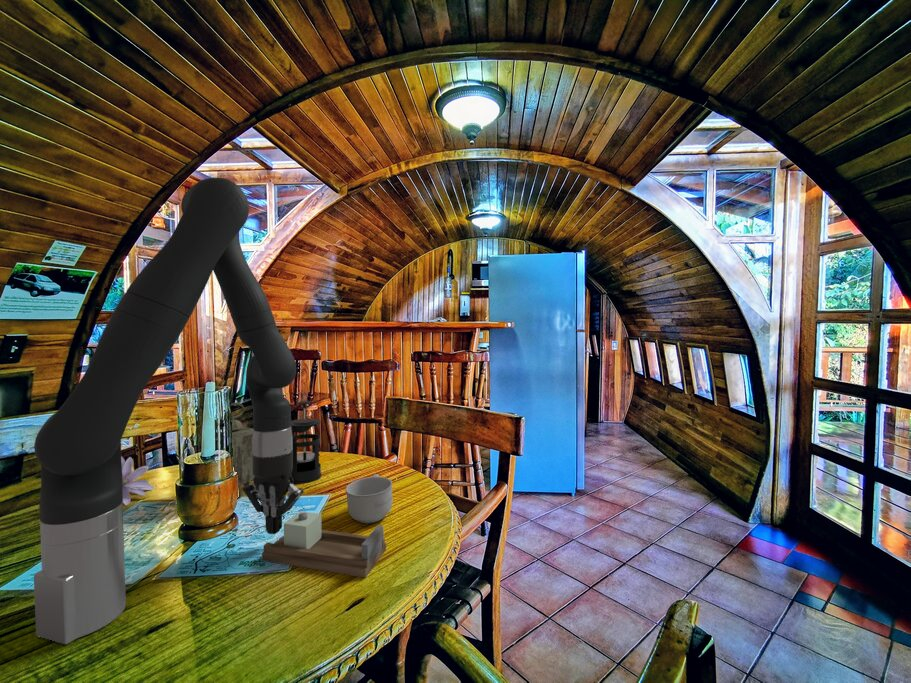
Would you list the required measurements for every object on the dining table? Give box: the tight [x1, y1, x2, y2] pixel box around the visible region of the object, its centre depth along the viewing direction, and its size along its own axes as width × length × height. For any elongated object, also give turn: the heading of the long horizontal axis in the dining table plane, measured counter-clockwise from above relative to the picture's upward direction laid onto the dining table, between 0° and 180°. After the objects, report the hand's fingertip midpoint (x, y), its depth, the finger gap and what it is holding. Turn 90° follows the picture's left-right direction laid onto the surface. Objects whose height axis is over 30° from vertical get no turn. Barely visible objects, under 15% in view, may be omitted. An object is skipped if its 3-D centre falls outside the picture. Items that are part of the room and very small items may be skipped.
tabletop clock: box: [230, 402, 255, 499], centre depth 104 cm, size 14×9×25 cm, turn 152°
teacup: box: [345, 474, 393, 524], centre depth 95 cm, size 14×11×8 cm
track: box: [261, 525, 387, 578], centre depth 78 cm, size 9×22×6 cm, turn 77°
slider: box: [283, 510, 322, 549], centre depth 79 cm, size 5×5×6 cm
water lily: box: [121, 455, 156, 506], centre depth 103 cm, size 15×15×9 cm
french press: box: [291, 400, 322, 485], centre depth 117 cm, size 12×9×23 cm
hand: (274, 532), depth 81 cm, fingers closed
